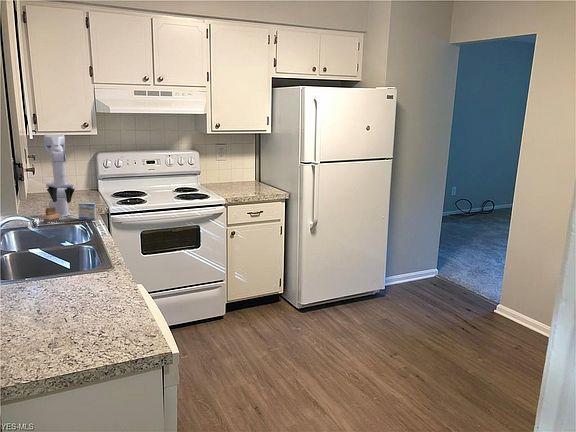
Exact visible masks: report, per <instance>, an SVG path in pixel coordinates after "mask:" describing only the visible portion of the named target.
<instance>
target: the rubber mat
mask: <svg viewBox="0 0 576 432" xmlns="http://www.w3.org/2000/svg"><path fill="white" fill-rule="evenodd" d="M76 220H77V221H80V220H79V218H76V217H75V218H74V217H69V216H68V217H65V218H61V219H60V218H59V222H61V221H65V222H64V223H67V222H68V223H71V222H70V221H73V222H77V221H76Z"/></svg>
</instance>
